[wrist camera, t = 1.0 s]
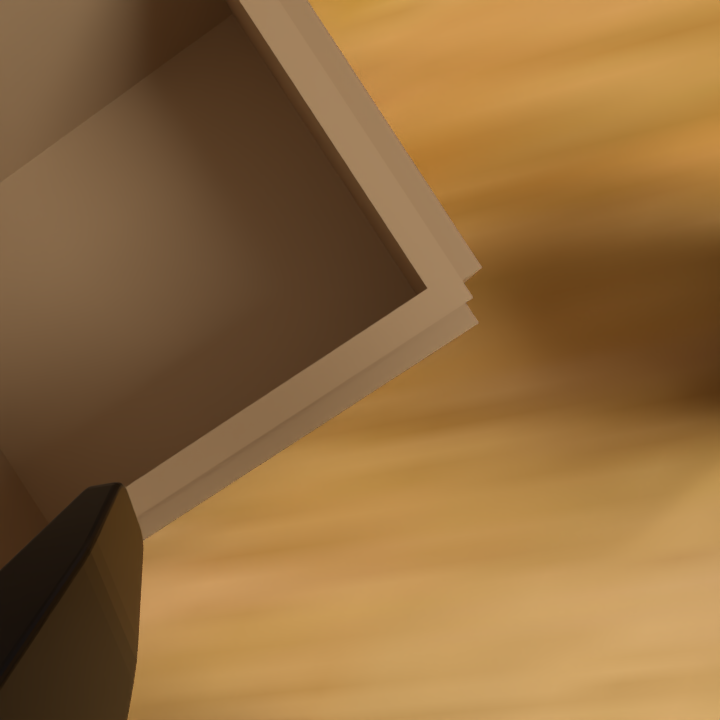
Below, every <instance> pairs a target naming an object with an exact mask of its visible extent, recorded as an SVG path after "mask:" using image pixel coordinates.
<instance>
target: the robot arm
mask: <svg viewBox="0 0 720 720" xmlns="http://www.w3.org/2000/svg"><path fill="white" fill-rule="evenodd" d="M142 564H143V537H142V532H141V528H140V525H139V522H138V520H137V517H136V514H135V511H134V508H133V505H132V503H131V500H130V497H129V494H128V491H127V489H126V488H125V486H124V485H123V484H122V483H120V482H112V483H106V484H100V485H94V486H90V487H87V488H86V489H85V490H84V491H82V492H81V493H80V494H79V495H78V496H77V497H76V498H75V499H74V500H73V501H72V502H71V503H70V504H69V505H68V506H67V507H66V508H65V509H63V510H62V511H61V512H60V513H59V514H58V515H57V516H56V517H55V518H54V519H53V520H52V521H51V522H50V523H49V524H48V525H47V526H46V527H45V528H43V529H42V530H41V531H40V532H39V533H38V534H37V535H36V536H35V537H34V538H33V539H32V540H31V541H30V542H29V543H28V544H27V545H26V546H25V547H24V548H22V549H21V550H20V551H19V552H18V553H17V554H16V555H15V556H14V557H13V558H12V559H11V560H10V561H9V562H8V563H7V564H6V565H5V566H4V567H2V568H1V569H0V720H127V718H128V712H129V707H130V701H131V695H132V689H133V684H134V677H135V670H136V663H137V651H138V637H139V618H140V600H141V582H142Z"/></svg>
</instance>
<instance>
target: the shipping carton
mask: <svg viewBox="0 0 720 720" xmlns="http://www.w3.org/2000/svg"><path fill="white" fill-rule="evenodd" d="M481 268H482V266H481V265H480V263H479V262H478V260H477V259H476V257H475V256H474V254H473V253H472V251H471V249H470V248H469V246H468V245H467V243H466V242H465V240H464V239H463V237H462V236H461V234H460V233H459V231H458V230H457V228H456V227H455V225H454V223H453V222H452V220H451V219H450V217H449V216H448V214H447V213H446V211H445V210H444V208H443V207H442V205H441V204H440V202H439V201H438V199H437V198H436V196H435V194H434V193H433V191H432V190H431V188H430V187H429V185H428V184H427V182H426V181H425V179H424V178H423V176H422V175H421V173H420V172H419V170H418V168H417V167H416V165H415V164H414V162H413V161H412V159H411V158H410V156H409V155H408V153H407V152H406V150H405V149H404V147H403V146H402V144H401V143H400V141H399V139H398V138H397V136H396V135H395V133H394V132H393V130H392V129H391V127H390V126H389V124H388V123H387V121H386V120H385V118H384V117H383V115H382V113H381V112H380V110H379V109H378V107H377V106H376V104H375V103H374V101H373V100H372V98H371V97H370V95H369V94H368V92H367V91H366V89H365V87H364V86H363V84H362V83H361V81H360V80H359V78H358V77H357V75H356V74H355V72H354V71H353V69H352V68H351V66H350V65H349V63H348V62H347V60H346V58H345V57H344V55H343V54H342V52H341V51H340V49H339V48H338V46H337V45H336V43H335V42H334V40H333V39H332V37H331V36H330V34H329V32H328V31H327V29H326V28H325V26H324V25H323V23H322V22H321V20H320V19H319V17H318V16H317V14H316V13H315V11H314V10H313V8H312V6H311V5H310V3H309V2H308V0H0V569H1V568H2V567H4V566H5V565H6V564H7V563H8V562H9V561H10V560H11V559H12V558H13V557H14V556H15V555H16V554H17V553H18V552H19V551H20V550H21V549H22V548H24V547H25V546H26V545H27V544H28V543H29V542H30V541H31V540H32V539H33V538H34V537H35V536H36V535H37V534H38V533H39V532H40V531H41V530H42V529H43V528H45V527H46V526H47V525H48V524H49V523H50V522H51V521H52V520H53V519H54V518H55V517H56V516H57V515H58V514H59V513H60V512H61V511H62V510H63V509H65V508H66V507H67V506H68V505H69V504H70V503H71V502H72V501H73V500H74V499H75V498H76V497H77V496H78V495H79V494H80V493H81V492H82V491H84V490H85V489H86V488H87V487H90V486H94V485H100V484H106V483H112V482H120V483H122V484H123V485H124V486H125V488H126V489H127V491H128V494H129V497H130V500H131V503H132V505H133V508H134V511H135V514H136V517H137V520H138V522H139V525H140V528H141V532H142V537H143V540H145V539H146V538H148V537H149V536H151V535H152V534H154V533H155V532H157V531H158V530H160V529H162V528H163V527H165V526H166V525H168V524H169V523H171V522H172V521H174V520H175V519H177V518H179V517H180V516H182V515H183V514H185V513H186V512H188V511H189V510H191V509H192V508H194V507H196V506H197V505H199V504H200V503H202V502H203V501H205V500H206V499H208V498H209V497H211V496H213V495H214V494H216V493H217V492H219V491H220V490H222V489H223V488H225V487H226V486H228V485H230V484H231V483H233V482H234V481H236V480H237V479H239V478H240V477H242V476H243V475H245V474H247V473H248V472H250V471H251V470H253V469H254V468H256V467H257V466H259V465H260V464H262V463H264V462H265V461H267V460H268V459H270V458H271V457H273V456H274V455H276V454H277V453H279V452H281V451H282V450H284V449H285V448H287V447H288V446H290V445H291V444H293V443H294V442H296V441H298V440H299V439H301V438H302V437H304V436H305V435H307V434H308V433H310V432H311V431H313V430H315V429H316V428H318V427H319V426H321V425H322V424H324V423H325V422H327V421H328V420H330V419H332V418H333V417H335V416H336V415H338V414H339V413H341V412H342V411H344V410H345V409H347V408H349V407H350V406H352V405H353V404H355V403H356V402H358V401H359V400H361V399H362V398H364V397H366V396H367V395H369V394H370V393H372V392H373V391H375V390H376V389H378V388H379V387H381V386H383V385H384V384H386V383H387V382H389V381H390V380H392V379H393V378H395V377H396V376H398V375H400V374H401V373H403V372H404V371H406V370H407V369H409V368H410V367H412V366H414V365H415V364H417V363H418V362H420V361H421V360H423V359H424V358H426V357H427V356H429V355H431V354H432V353H434V352H435V351H437V350H438V349H440V348H441V347H443V346H444V345H446V344H448V343H449V342H451V341H452V340H454V339H455V338H457V337H458V336H460V335H461V334H463V333H465V332H466V331H468V330H469V329H471V328H472V327H474V326H475V325H477V324H478V323H479V322H478V321H477V319H476V318H475V316H474V314H473V313H472V311H471V310H470V308H469V307H468V305H467V304H466V302H468V301H469V300H471V299H472V298H473V296H472V295H471V293H470V292H469V290H468V289H467V287H466V286H465V284H464V283H465V282H466V281H467V280H468V279H470V278H471V277H472V276H473V275H474V274H475V273H477V272H478V271H479V270H480V269H481Z"/></svg>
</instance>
